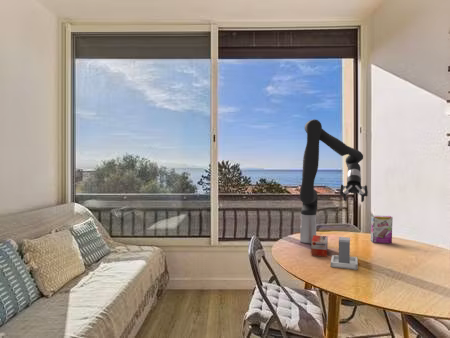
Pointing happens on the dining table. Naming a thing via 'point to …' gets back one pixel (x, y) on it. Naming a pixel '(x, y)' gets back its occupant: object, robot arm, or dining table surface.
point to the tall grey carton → (344, 250)
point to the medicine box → (319, 245)
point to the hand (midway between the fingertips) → (353, 200)
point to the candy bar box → (381, 229)
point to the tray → (336, 263)
